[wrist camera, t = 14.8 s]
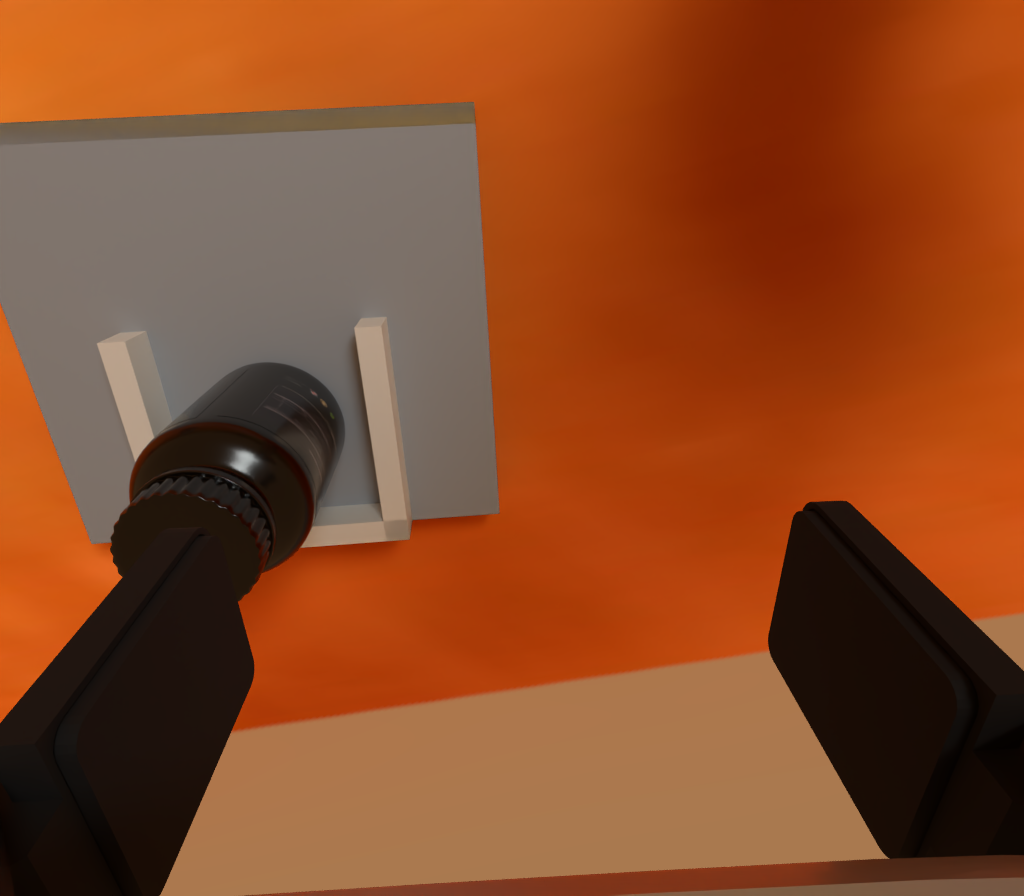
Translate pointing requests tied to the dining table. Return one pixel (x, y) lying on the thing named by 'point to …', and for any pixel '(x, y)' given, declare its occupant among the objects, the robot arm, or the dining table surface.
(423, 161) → the dock
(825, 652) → the robot arm
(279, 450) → the supplement bottle
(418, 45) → the dining table surface
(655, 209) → the dining table surface
